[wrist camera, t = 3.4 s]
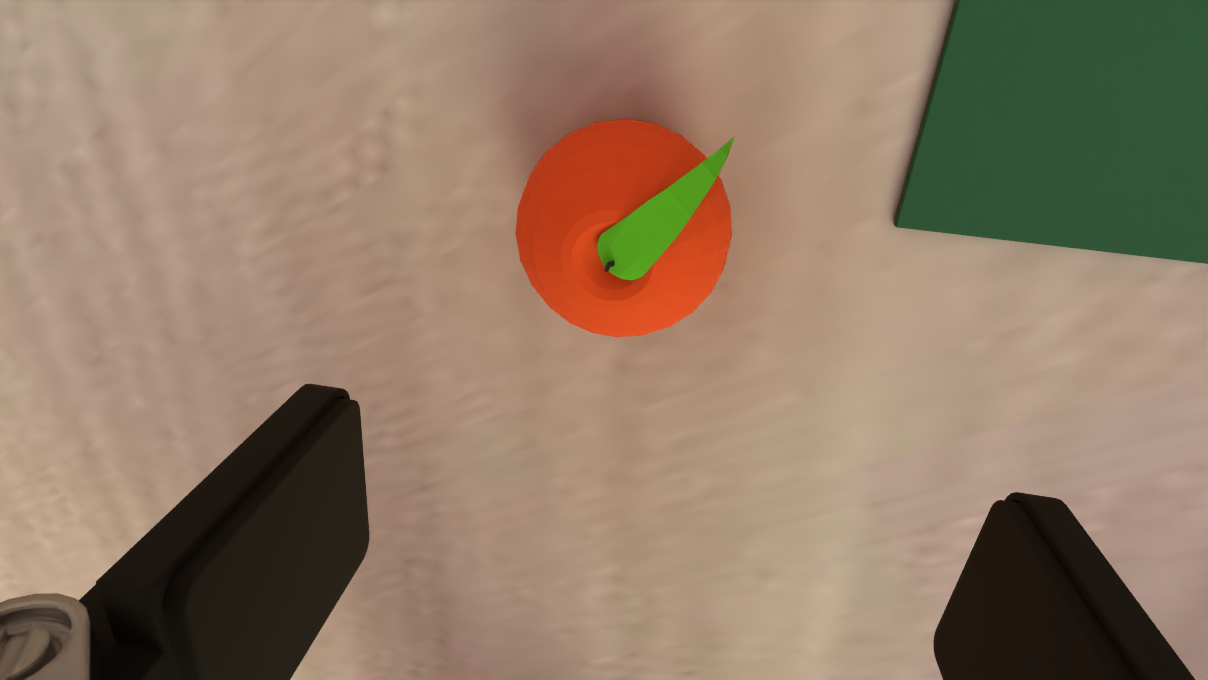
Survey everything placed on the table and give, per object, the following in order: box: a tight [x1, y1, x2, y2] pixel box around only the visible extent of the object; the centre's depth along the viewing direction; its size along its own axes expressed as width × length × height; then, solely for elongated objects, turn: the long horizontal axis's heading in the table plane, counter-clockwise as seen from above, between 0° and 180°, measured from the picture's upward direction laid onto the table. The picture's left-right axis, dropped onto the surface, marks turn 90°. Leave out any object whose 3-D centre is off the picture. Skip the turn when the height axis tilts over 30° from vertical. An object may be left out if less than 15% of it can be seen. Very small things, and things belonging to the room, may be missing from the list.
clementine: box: [516, 119, 734, 337], centre depth 22 cm, size 8×7×7 cm
